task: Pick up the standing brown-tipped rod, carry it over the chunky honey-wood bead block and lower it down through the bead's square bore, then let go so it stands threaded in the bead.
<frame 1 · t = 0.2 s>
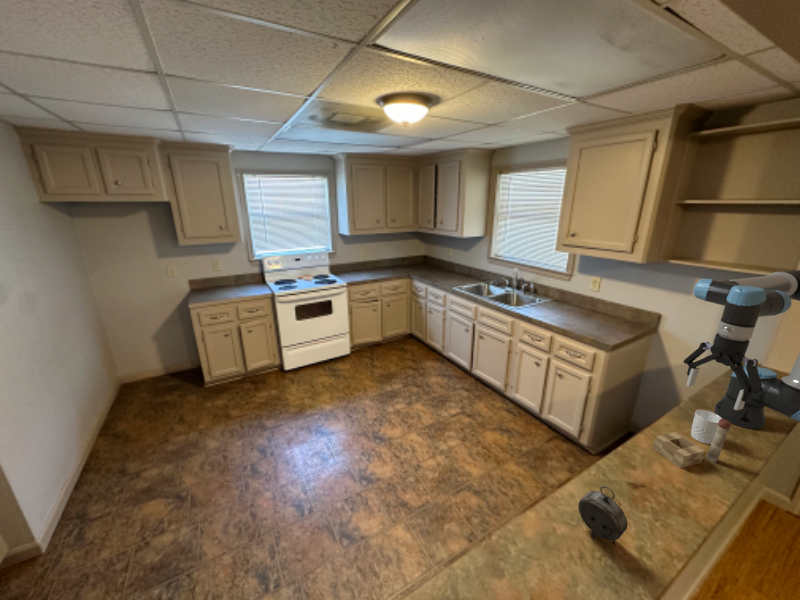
hand: (712, 396, 108), 27 cm above the counter, fingers open, 13 cm apart
brown-tipped rod: (711, 459, 118), on the counter
bead block: (676, 454, 120), on the counter
alarm clock: (596, 534, 91), on the counter
white cup: (701, 438, 129), on the counter
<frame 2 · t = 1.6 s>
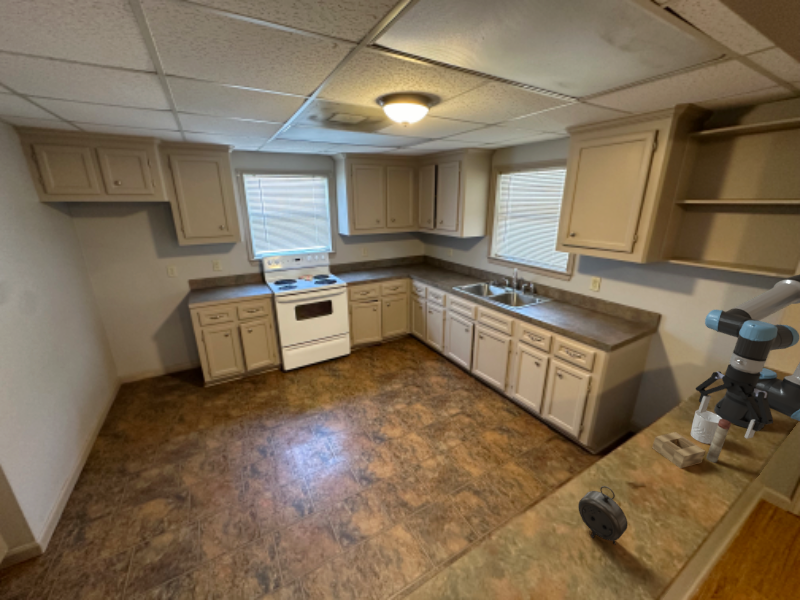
hand: (723, 423, 113), 15 cm above the counter, fingers open, 13 cm apart
nothing on the counter moved.
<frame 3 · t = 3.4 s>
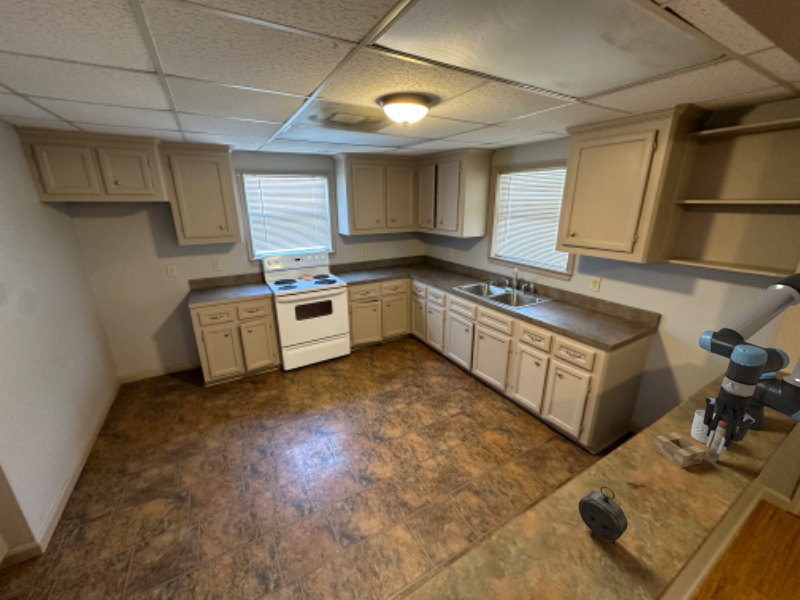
hand: (715, 449, 117), 5 cm above the counter, fingers closed on brown-tipped rod, 3 cm apart
brown-tipped rod: (711, 459, 118), on the counter, touching gripper
everything else where it was.
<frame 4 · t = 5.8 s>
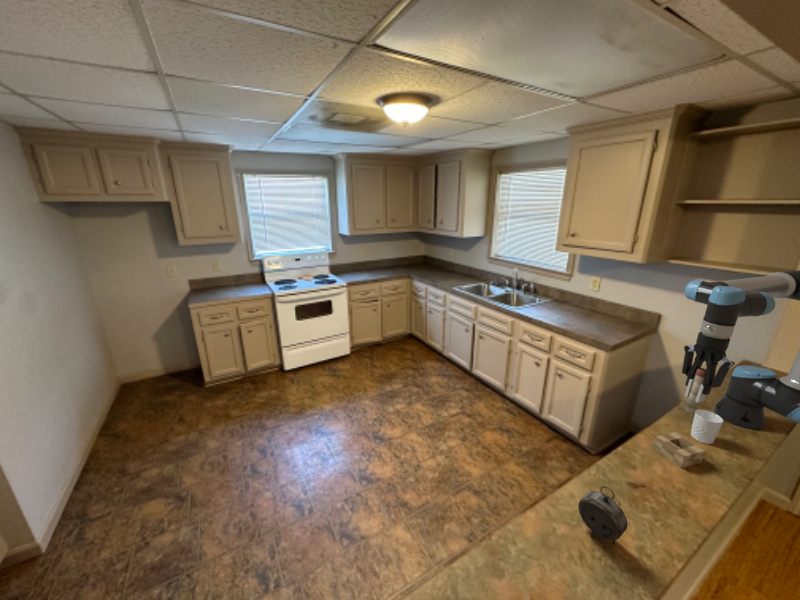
hand: (694, 398, 113), 24 cm above the counter, fingers closed on brown-tipped rod, 3 cm apart
brown-tipped rod: (689, 411, 114), point 18 cm above the counter, touching gripper
everything else where it was.
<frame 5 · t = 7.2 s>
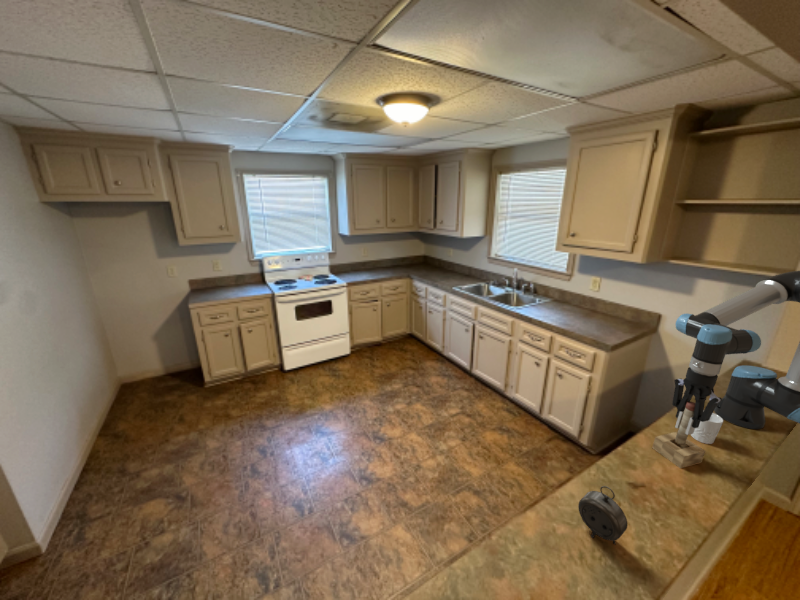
hand: (683, 430, 117), 11 cm above the counter, fingers closed on brown-tipped rod, 3 cm apart
brown-tipped rod: (679, 442, 118), point 6 cm above the counter, touching gripper
everything else where it was.
when the fingers open (7 cm above the counter, at t = 8.3 s): brown-tipped rod drops 1 cm, resting in bead block.
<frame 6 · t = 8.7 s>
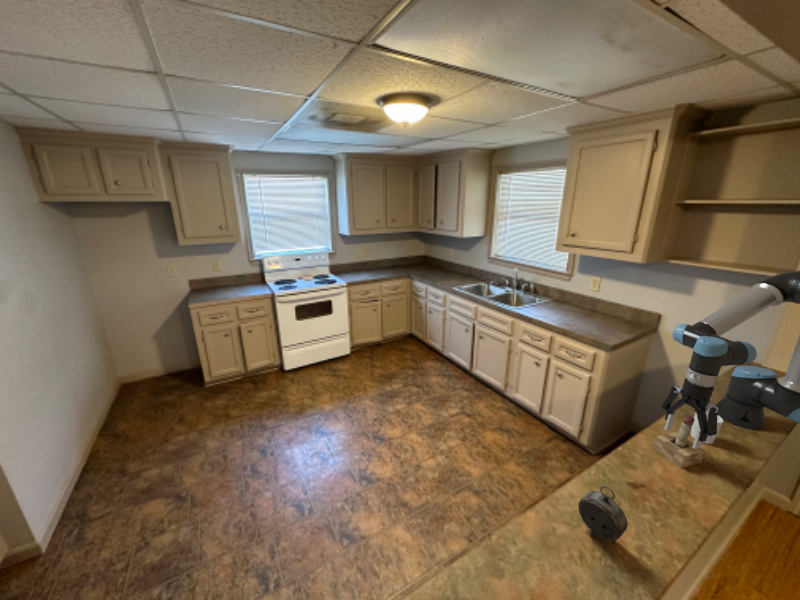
hand: (681, 437, 118), 7 cm above the counter, fingers open, 9 cm apart
brown-tipped rod: (676, 455, 120), resting in bead block
everything else where it was.
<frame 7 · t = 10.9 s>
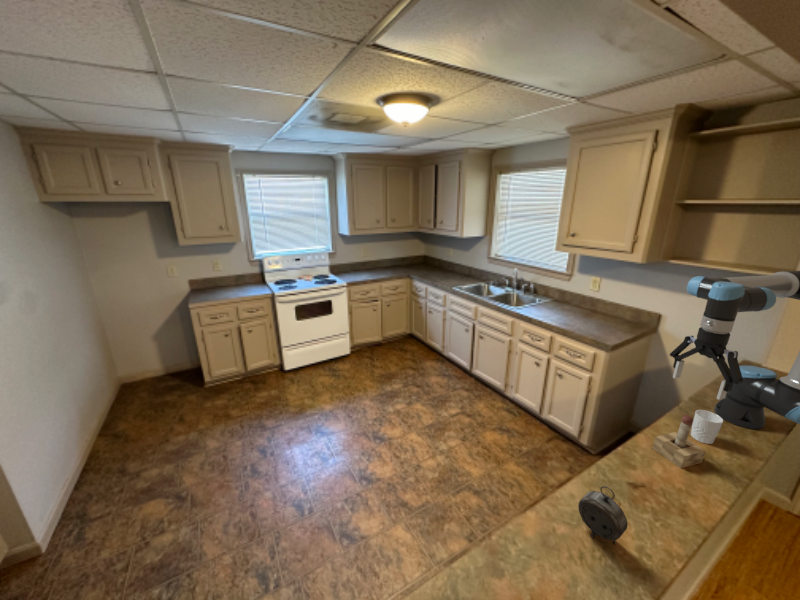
hand: (697, 387, 113), 27 cm above the counter, fingers open, 13 cm apart
nothing on the counter moved.
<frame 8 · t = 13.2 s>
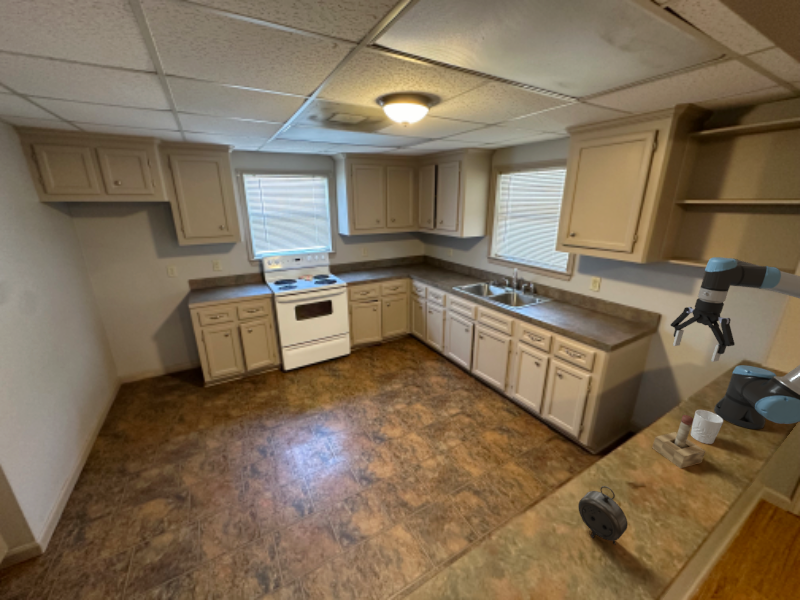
hand: (694, 352, 128), 32 cm above the counter, fingers open, 13 cm apart
nothing on the counter moved.
at the end: brown-tipped rod 0.1 cm off-centre on the bead block, point 0.0 cm above the bead block's base; brown-tipped rod tilted 0°; the gripper is holding nothing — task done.
